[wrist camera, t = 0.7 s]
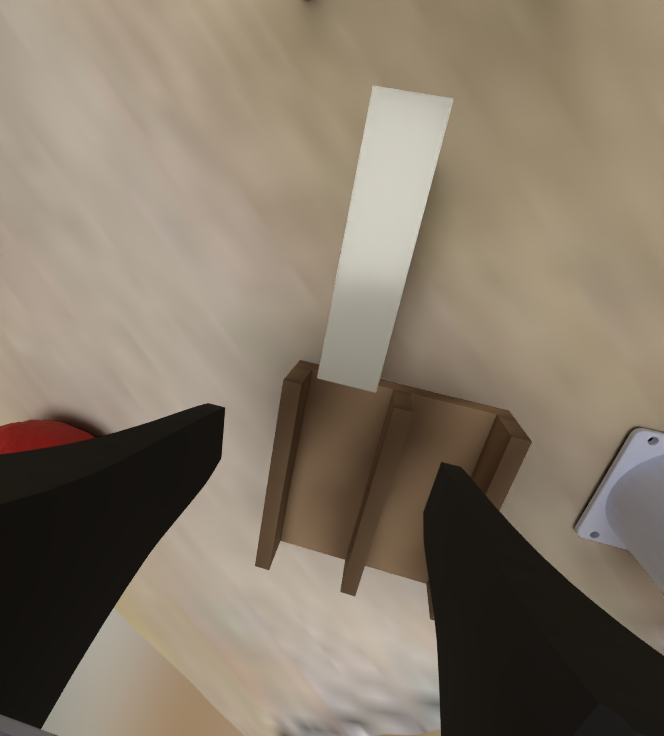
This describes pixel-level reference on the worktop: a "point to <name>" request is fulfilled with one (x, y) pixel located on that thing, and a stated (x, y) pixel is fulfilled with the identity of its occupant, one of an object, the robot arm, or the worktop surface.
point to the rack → (375, 469)
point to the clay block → (381, 231)
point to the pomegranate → (38, 435)
